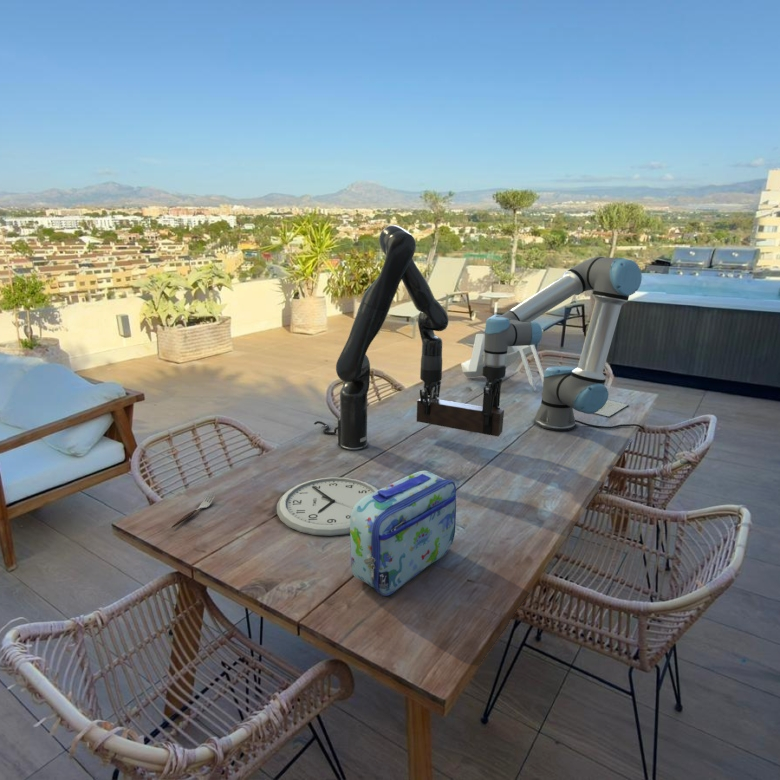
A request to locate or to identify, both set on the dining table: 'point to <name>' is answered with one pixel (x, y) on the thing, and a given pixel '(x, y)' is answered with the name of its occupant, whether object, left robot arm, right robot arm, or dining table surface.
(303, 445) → the dining table surface
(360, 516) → the lunch box
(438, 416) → the walnut beam
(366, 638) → the dining table surface
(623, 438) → the dining table surface
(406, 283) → the left robot arm
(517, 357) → the white plastic object
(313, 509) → the wall clock
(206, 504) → the fork
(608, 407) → the invitation card
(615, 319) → the right robot arm
